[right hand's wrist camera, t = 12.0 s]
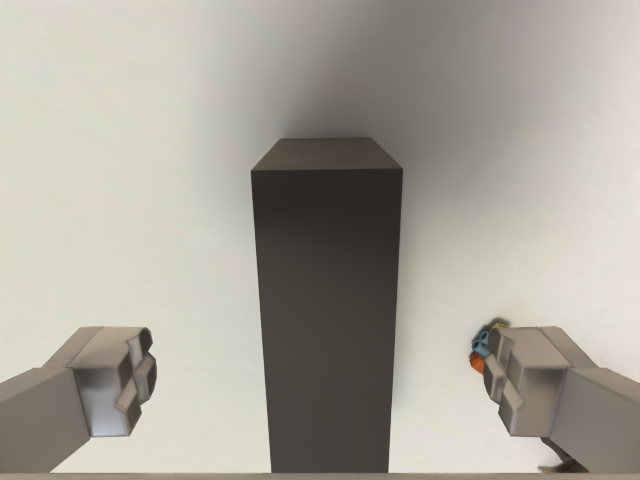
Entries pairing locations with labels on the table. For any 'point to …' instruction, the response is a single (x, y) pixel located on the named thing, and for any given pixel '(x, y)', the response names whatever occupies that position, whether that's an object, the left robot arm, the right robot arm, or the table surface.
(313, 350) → the box
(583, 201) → the table surface
